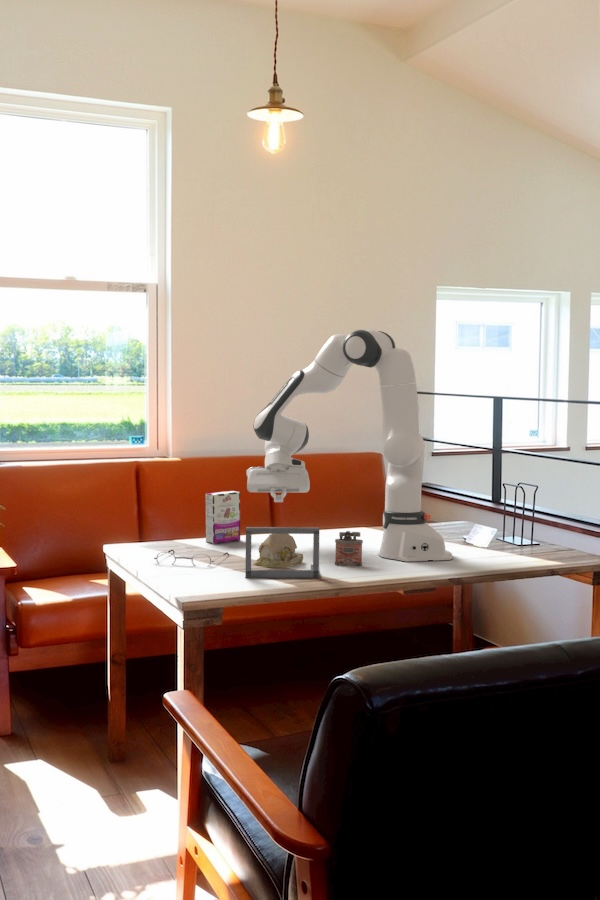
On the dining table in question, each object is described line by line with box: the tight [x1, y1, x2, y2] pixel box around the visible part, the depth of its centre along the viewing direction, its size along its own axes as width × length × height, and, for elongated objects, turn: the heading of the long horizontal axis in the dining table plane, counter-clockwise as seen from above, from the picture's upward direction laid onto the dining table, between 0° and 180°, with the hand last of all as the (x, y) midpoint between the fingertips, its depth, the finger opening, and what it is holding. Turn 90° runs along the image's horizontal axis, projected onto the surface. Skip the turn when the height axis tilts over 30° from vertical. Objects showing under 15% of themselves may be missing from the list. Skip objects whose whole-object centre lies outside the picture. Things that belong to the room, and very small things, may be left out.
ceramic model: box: [253, 534, 304, 569], centre depth 273 cm, size 14×11×10 cm
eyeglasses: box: [153, 549, 230, 567], centre depth 277 cm, size 18×19×4 cm
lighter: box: [334, 530, 364, 567], centre depth 271 cm, size 8×3×10 cm, turn 82°
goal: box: [244, 526, 320, 579], centre depth 258 cm, size 20×11×14 cm, turn 93°
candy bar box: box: [204, 490, 241, 545], centre depth 307 cm, size 11×5×16 cm, turn 131°
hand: (278, 501), depth 294 cm, fingers closed
